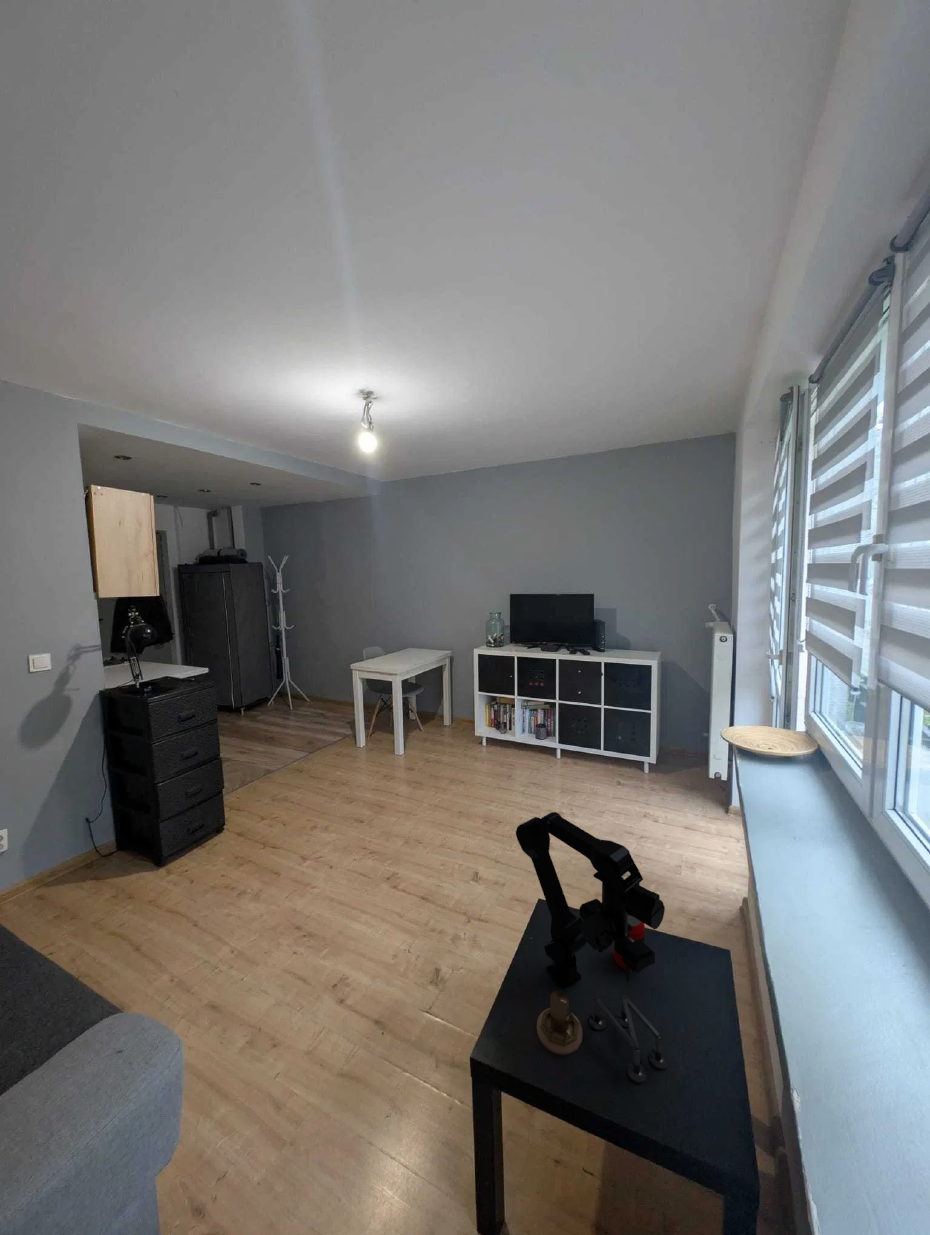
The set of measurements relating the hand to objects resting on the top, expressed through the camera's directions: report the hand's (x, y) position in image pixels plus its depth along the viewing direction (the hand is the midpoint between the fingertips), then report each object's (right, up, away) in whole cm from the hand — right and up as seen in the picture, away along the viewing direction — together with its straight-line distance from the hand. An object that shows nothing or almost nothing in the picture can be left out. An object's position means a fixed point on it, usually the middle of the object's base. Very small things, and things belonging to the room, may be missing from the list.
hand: (614, 966), depth 107 cm
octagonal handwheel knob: (-13, -12, -3) cm, 18 cm away
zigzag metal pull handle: (+1, -13, -5) cm, 14 cm away
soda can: (+9, -11, +16) cm, 21 cm away
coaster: (-13, -13, -3) cm, 19 cm away
